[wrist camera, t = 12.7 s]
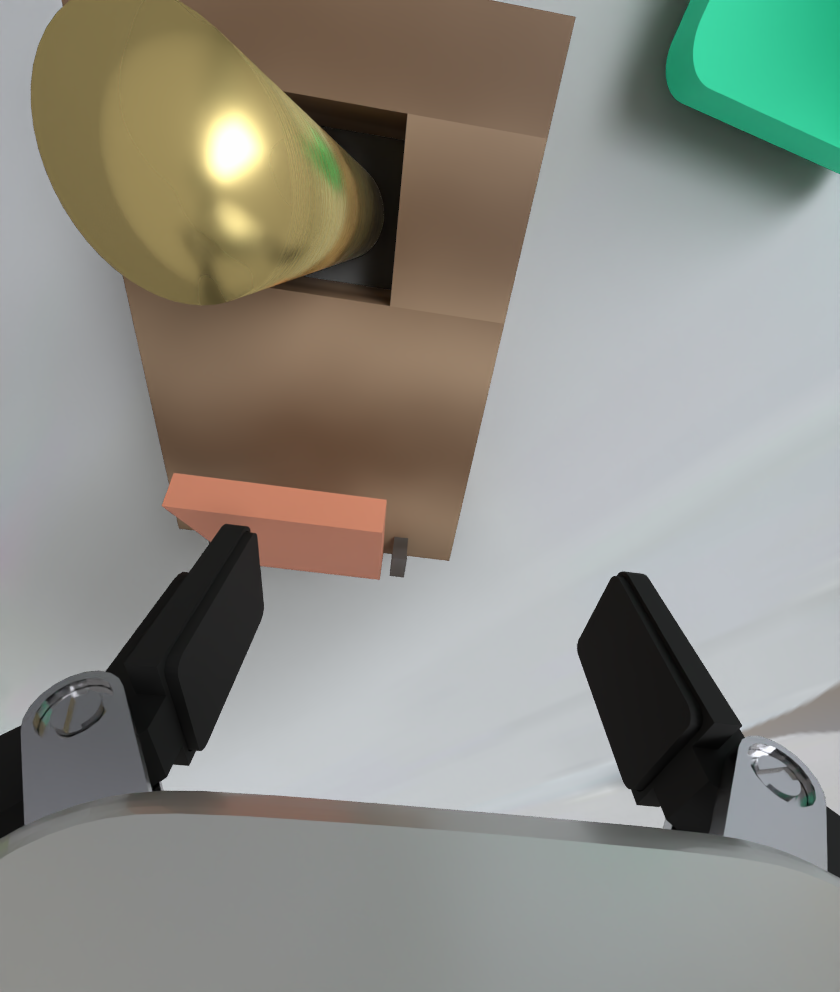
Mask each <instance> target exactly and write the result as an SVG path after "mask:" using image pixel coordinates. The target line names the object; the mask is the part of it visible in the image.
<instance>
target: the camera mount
mask: <svg viewBox="0 0 840 992" xmlns="http://www.w3.org/2000/svg"><path fill="white" fill-rule="evenodd" d="M666 80H667V85H668V88H669V90H670V92H671V94H672V96H673V97H674V98H675V99H676V100H677V101H679V102H680V103H682V104H684V105H687V106H689V107H691V108H693V109H696V110H698V111H700V112H702V113H704V114H707V115H709V116H711V117H713V118H716V119H718V120H720V121H722V122H725V123H727V124H729V125H731V126H734V127H736V128H738V129H740V130H742V131H745V132H747V133H749V134H751V135H754V136H756V137H758V138H760V139H763V140H765V141H767V142H769V143H772V144H774V145H776V146H778V147H780V148H783V149H785V150H787V151H789V152H792V153H794V154H796V155H798V156H801V157H803V158H805V159H807V160H809V161H812V162H814V163H816V164H818V165H821V166H823V167H825V168H827V169H830V170H832V171H834V172H836V173H839V174H840V0H690V2H689V4H688V7H687V9H686V11H685V13H684V16H683V18H682V20H681V22H680V25H679V27H678V29H677V32H676V34H675V36H674V38H673V41H672V43H671V46H670V49H669V52H668V56H667V61H666Z"/></svg>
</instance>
